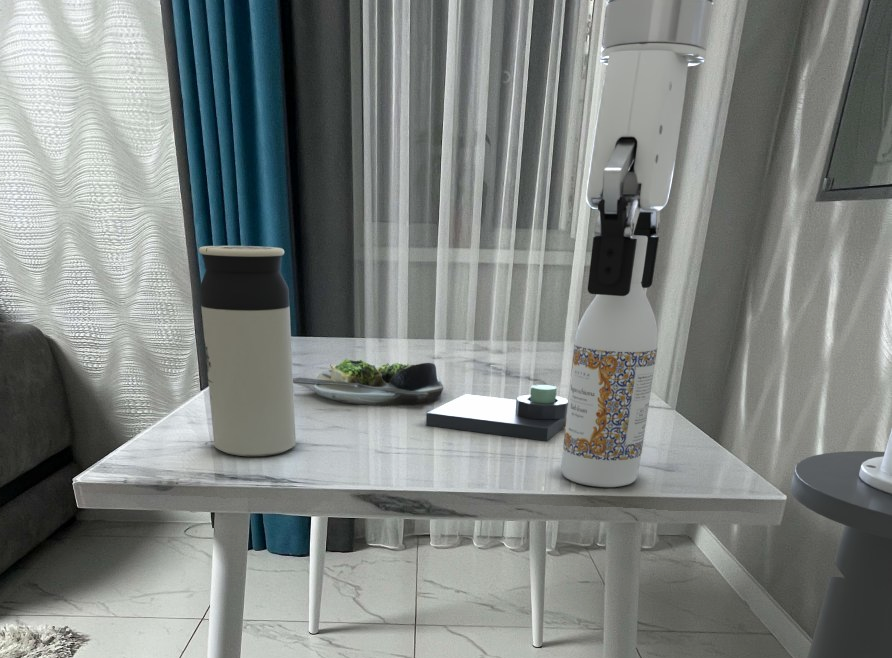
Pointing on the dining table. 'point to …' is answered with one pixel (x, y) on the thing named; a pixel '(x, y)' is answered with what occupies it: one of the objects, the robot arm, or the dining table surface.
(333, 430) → the dining table surface
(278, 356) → the travel mug
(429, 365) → the salad plate
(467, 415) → the scale
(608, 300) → the bath foam
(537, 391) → the button
